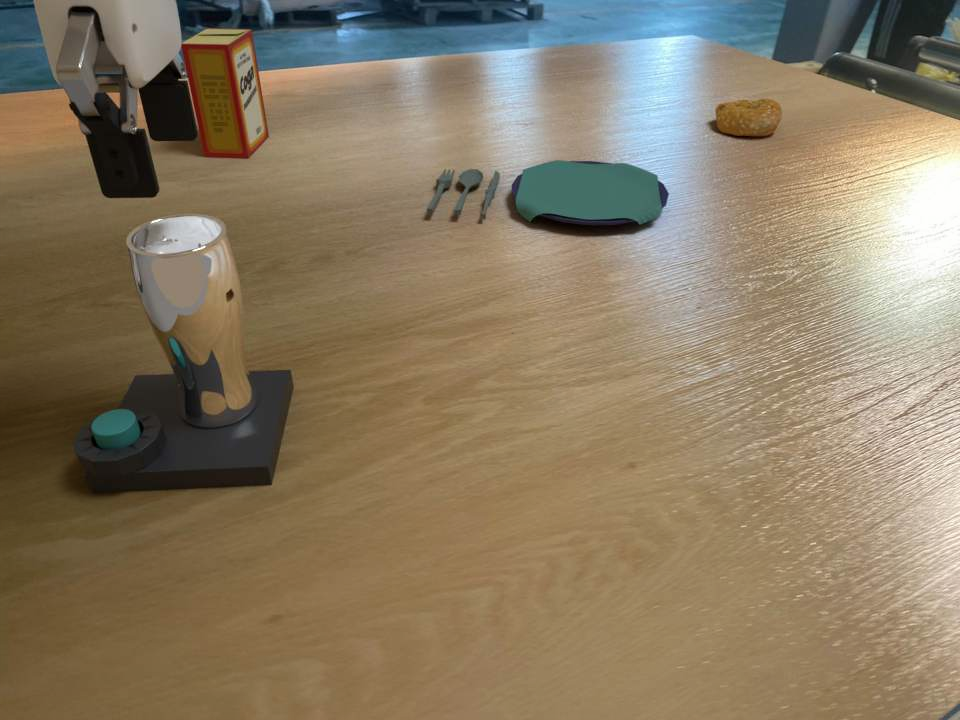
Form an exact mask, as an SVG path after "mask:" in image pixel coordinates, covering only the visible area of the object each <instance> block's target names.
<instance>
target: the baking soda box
mask: <svg viewBox="0 0 960 720" xmlns="http://www.w3.org/2000/svg"><path fill="white" fill-rule="evenodd" d="M255 47H256V46H255V42H254V36H253V29H252V28H251V29H249V28H209V27H208V28H206V29H204V30H201V32H199V33H197V34H195V35H193V36H192V37H190V38H188V39H187V40H184V41H182V44H181V54H182V59H183V61H184V64H185V67H186V77H187V81H188V86H189V91H190V96H191V100H192V105H193V110H194V114H195V119H196V124H197V128H198V131H199V132H198V133H199V137H200V142H201V145H202V150H203V155H204V157H205V158H220V159H221V158H222V159H223V158H224V159H225V158H226V159H250V158H251V156H252V155H253V154H254V153H255V152H256V151H258V149H259V148H260V147H261V146H262V145H263V144H264V142H266V140H268V138H269V137H270V134H269V128H268V121H267V115H266V109H265V104H264V103H265V102H264V97H263V91H262V86H261V78H260V74H259V67H258V59H257V55H256V48H255Z"/></svg>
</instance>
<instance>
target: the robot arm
mask: <svg viewBox="0 0 960 720" xmlns="http://www.w3.org/2000/svg"><path fill="white" fill-rule="evenodd" d="M32 2H33V5H34V9H35V14H36V17H37V22H38V26H39V30H40V33H41V37H42V41H43V44H44V48H45V51H46V56H47V60H48V63H49V67H50V70H51V73H52V76H53V78H54V81H55V82H56V83H57V84H58V85H59V86H60V87H62V88H63V90H64V92H65V94H66V95H67V97H68V99H69V103H68V106H69V109H70V110H71V111H72V113H73V114H74V116H75V117H76V118H77V120H78V128H79V130H80V132H81V134H82V135H84V136H85V140H86V143H87V146H88V149H89V153H90V157H91V160H92V163H93V168H94V170H95V173H96V177H97V181H98V185H99V188H100V191H101V193H102V195H103V196H104V197H105V198H108V199H152V198H156V197H157V195H159V193H160V184H159V181H158V176H157V173H156V168H155V164H154V159H153V156H152V152H151V148H150V144H149V140H148V136H149V138H150V140H152V141H153V142H194V141H196V139H197V138H198V137H199V132H198V131H199V129H198V124H197V120H196V115H195V110H194V105H193V100H192V95H191V90H190V85H189V81H188V79H187V80H185V79H186V78H187V72H186V67H185V62H184V58H183V57H182V56H181V53H180V51H181V50H182V48H181V44H182V43H183V40H182V39H183V38H182V29H181V21H180V16H179V10H178V4H177V0H32ZM117 93H118V94H119V106H118V105H117V104H116V102H115V101H114V100H113V98H111V96H110V95H109V94H117ZM138 95H139V96H138ZM138 97H139V98H140V102H141V106H142V110H143V115H144V119H145V123H146V127H147V132H148V135H147V132H146V128H138Z"/></svg>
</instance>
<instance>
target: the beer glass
mask: <svg viewBox="0 0 960 720" xmlns="http://www.w3.org/2000/svg"><path fill="white" fill-rule="evenodd" d="M125 244H126V247H127V252H128V256H129V261H130V266H131V267H130V268H131V271H132V276H133V281H134V285H135V288H136V293H137V296H138V299H139V303H140V305H141V309H142V311H143V314H144V316H145V319H146V321H147V323H148V325H149V327H150V330H151V331H152V333H153V335H154V337H155V339H156V341H157V342H158V345H159V346H160V348H161V350H162V352H163V354H164V356H165V357H166V359H167V362H168V363H169V366H170V367H171V370H172V372H173V374H174V375H175V378H176V383H177V389H178V407H179V412H180V415H181V417H182V418H183V419H184V420H185V421H186V422H187V423H189V424H191V425H193V426H197V427H202V428H216V427H222V426H226V425H230V424H233V423H235V422H237V421H239V420H241V419H243V418H244V417H246V416H247V415H248V414H250V413H251V412H252V411H253V409H254V408H255V407H256V405H257V402H258V392H257V389H256V387H255V385H254V382H253V380H252V378H251V376H250V374H249V371H250V370H249V369H248V366H247V362H246V355H245V321H244V320H245V317H244V316H245V313H244V310H245V309H244V295H243V289H242V283H241V277H240V273H239V270H238V264H237V261H236V258H235V254H234V251H233V247H232V245H231V242H230V238H229V234H228V231H227V226H226V224H225V223H224V222H223V220H221V219H220V218H218V217H215V216H212V215H209V214H202V213H177V214H171V215H166V216H162V217H161V216H160V217H158V218H154V219H151V220H148V221H146V222H144V223H142V224H140V225H138V226H137V227H135V228H134V229H132V230H131V231H130V232H129V233H128V235H127V236H126V239H125Z"/></svg>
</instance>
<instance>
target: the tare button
mask: <svg viewBox="0 0 960 720" xmlns="http://www.w3.org/2000/svg"><path fill="white" fill-rule="evenodd" d="M99 415H100V416H99ZM99 415H97V416H96V417H97V418H96V417H95V418H96V419H95V418H94V419H95V420H94V421H93V423H92V426H91V429H92V432H93V435H94V437H95V440H96V442H97V445H98V446H99V447H100V448H101V449H103V450H117V449H120V448H122V447H125V446H128V445H131V444H132V443H133V442H134V441H136V440H137V439H138V438H139V437H140V434H141V431H140V428H139V425H138V422H137V419H136V416H135V414H134V413H133V412H132V411H130V410H126V409H118V408H116V409H112V410H108V411H105V412H103V413H102V414H99Z"/></svg>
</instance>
